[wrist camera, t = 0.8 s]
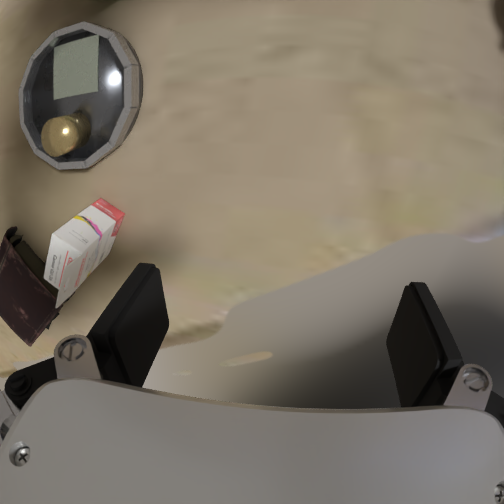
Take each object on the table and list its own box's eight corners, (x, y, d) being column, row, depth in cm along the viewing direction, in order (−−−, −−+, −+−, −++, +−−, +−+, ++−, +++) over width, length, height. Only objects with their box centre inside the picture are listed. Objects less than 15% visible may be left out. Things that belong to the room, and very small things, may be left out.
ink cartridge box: (99, 195, 41) (35, 242, 28) (126, 213, 42) (68, 267, 29) (85, 239, 45) (29, 291, 32) (109, 255, 46) (58, 313, 33)
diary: (-7, 282, 56) (-19, 293, 51) (17, 222, 46) (0, 234, 42) (42, 337, 61) (31, 350, 57) (79, 293, 52) (65, 309, 47)
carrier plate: (33, 45, 30) (5, 46, 24) (145, 13, 28) (122, 3, 23) (38, 166, 39) (12, 178, 34) (145, 161, 38) (122, 174, 32)
